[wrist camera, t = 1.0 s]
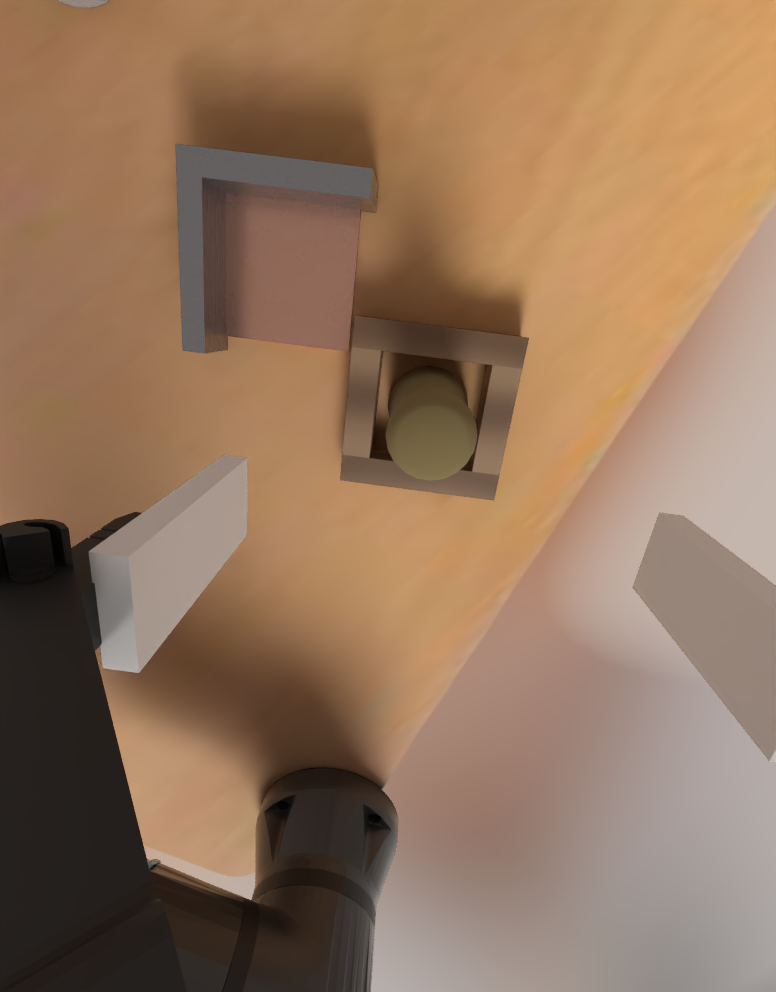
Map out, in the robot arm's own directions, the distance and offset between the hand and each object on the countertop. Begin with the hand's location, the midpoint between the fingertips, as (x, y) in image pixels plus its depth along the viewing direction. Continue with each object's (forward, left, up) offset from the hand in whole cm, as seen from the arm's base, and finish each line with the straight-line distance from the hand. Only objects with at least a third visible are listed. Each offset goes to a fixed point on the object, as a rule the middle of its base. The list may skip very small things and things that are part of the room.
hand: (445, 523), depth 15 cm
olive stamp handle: (0, 0, -22) cm, 22 cm away
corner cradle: (+8, +11, -22) cm, 26 cm away
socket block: (0, 0, -22) cm, 22 cm away
